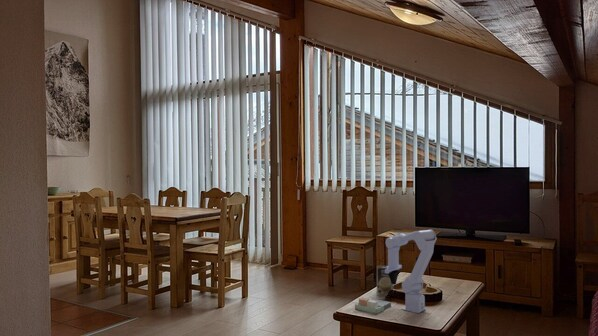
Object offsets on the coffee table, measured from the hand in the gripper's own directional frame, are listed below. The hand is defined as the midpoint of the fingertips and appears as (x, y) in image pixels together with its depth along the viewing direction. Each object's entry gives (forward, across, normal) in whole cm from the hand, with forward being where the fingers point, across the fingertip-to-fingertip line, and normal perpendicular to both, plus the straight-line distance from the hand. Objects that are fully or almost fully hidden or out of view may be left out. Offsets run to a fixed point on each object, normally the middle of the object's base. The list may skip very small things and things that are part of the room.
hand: (393, 284), depth 273 cm
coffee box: (+10, -9, -11) cm, 17 cm away
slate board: (+10, +11, -3) cm, 15 cm away
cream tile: (+7, +18, -1) cm, 19 cm away
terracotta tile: (+7, +18, -6) cm, 20 cm away
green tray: (+10, +19, -3) cm, 22 cm away
